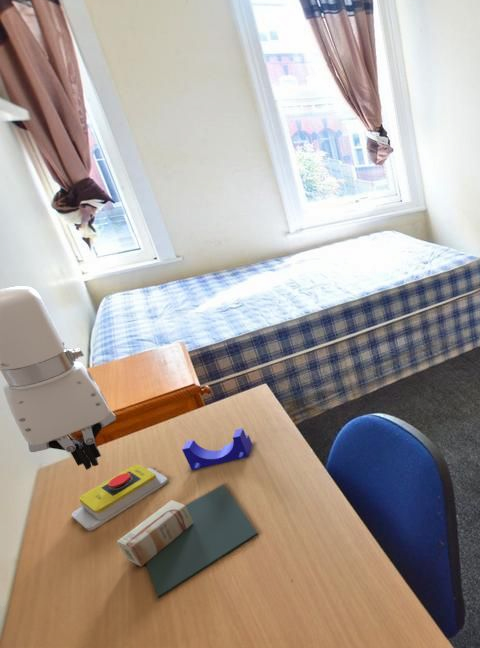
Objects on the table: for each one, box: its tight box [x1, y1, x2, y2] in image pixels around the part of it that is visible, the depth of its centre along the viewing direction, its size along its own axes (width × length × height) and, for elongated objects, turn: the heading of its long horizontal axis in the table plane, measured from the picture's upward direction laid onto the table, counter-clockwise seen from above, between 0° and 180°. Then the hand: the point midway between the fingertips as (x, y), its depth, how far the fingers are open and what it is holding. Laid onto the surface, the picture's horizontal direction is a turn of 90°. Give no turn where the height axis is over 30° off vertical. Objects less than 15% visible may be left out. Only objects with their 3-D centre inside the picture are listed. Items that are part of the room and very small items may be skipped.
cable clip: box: [181, 428, 253, 471], centre depth 109 cm, size 12×4×6 cm, turn 106°
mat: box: [145, 484, 258, 598], centre depth 89 cm, size 16×20×1 cm
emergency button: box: [71, 463, 169, 532], centre depth 100 cm, size 9×4×15 cm
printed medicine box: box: [116, 499, 194, 567], centre depth 87 cm, size 5×4×10 cm
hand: (91, 463), depth 78 cm, fingers closed
